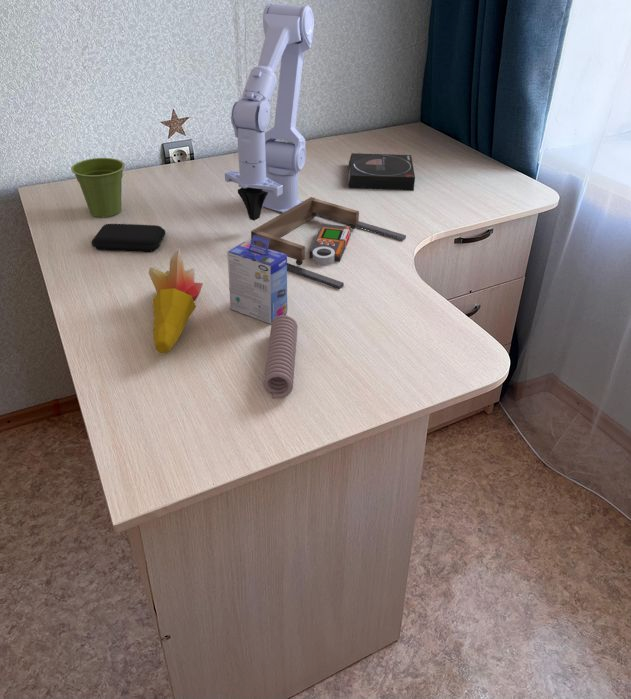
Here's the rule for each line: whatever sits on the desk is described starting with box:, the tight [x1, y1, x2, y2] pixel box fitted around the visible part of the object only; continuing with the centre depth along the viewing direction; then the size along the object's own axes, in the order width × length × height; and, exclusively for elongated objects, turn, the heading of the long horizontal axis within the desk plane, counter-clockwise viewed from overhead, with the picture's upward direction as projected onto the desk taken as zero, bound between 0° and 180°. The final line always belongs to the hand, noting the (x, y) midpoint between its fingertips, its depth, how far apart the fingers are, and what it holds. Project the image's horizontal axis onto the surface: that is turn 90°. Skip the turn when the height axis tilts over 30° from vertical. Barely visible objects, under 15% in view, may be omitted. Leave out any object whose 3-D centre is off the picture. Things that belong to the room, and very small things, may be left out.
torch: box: [148, 247, 204, 354], centre depth 119 cm, size 8×8×25 cm
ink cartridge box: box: [226, 235, 288, 325], centre depth 120 cm, size 10×6×14 cm, turn 58°
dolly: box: [250, 196, 360, 266], centre depth 147 cm, size 13×23×4 cm, turn 145°
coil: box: [262, 314, 299, 399], centre depth 110 cm, size 5×5×18 cm
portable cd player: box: [347, 152, 416, 192], centre depth 178 cm, size 16×17×4 cm
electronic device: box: [309, 223, 352, 266], centre depth 145 cm, size 7×3×15 cm
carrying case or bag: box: [90, 223, 167, 253], centre depth 146 cm, size 11×3×15 cm
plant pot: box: [70, 157, 125, 218], centre depth 156 cm, size 12×12×11 cm
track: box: [287, 214, 407, 290], centre depth 146 cm, size 26×28×1 cm
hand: (254, 218), depth 149 cm, fingers closed
